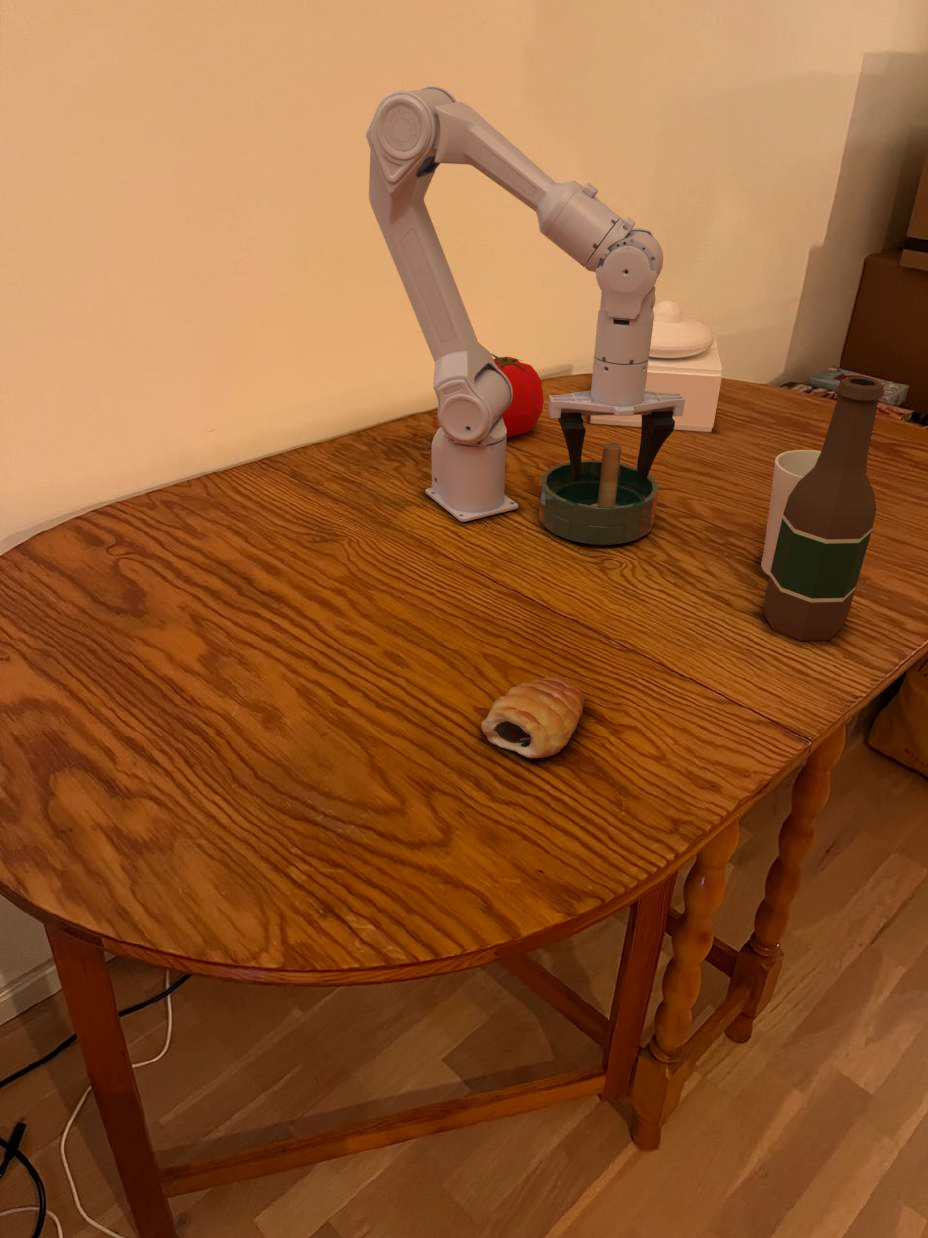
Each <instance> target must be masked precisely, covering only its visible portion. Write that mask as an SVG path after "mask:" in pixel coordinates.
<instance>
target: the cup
mask: <svg viewBox="0 0 928 1238" xmlns="http://www.w3.org/2000/svg"><path fill="white" fill-rule="evenodd" d="M821 451H822V450H813V449H794V450H787V451H784V452H781V453H780V454H778V455H777V456H775V459H774V465H773V466H774V467H773V476H772V484H771V493H770V500H769V508H768V513H767V514H768V515H767V522H766V523H767V524H766V530H765V531H766V532H765V538H764V546H763V553H762V558H761V563H760V567H761V569H762V571H763V572H764V573H765V574H766V575H767V576H769V575H770V571H771V566H772V562H773V557H774V553H775V548H776V544H777V539H778V535H779V530H780V526H781V521H782V517H783V513H784V510H785V507H786V503H787V500H788V497H789V495H790V494H791V492H792V491H793V489H794V488H795V486H796V485H797V483H798V482H799V481H800V480H801V479H802V478H803V477H804V476H805V475H806V474H807V473H808V472H810V471H811V470H812V469H813V468H814V467H815V464H816V462H817V460H818V458H819V455H820V453H821Z"/></svg>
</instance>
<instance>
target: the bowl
mask: <svg viewBox="0 0 928 1238" xmlns="http://www.w3.org/2000/svg"><path fill="white" fill-rule="evenodd" d="M601 466H602V460H597V459H596V460H593V459H590V460H589V459H588V460H581V477H580V480H576V481H574V480H573V478H572V476H571V469H570V461H568V462H564V463H560V464H557V465H555V466H553V467H551V468H549V469H547V470H546V471H545V472H544V473H543V474H542V475H541V478H540V479H541V480H540V493H539V508H538V509H539V510H538V519H539V521H540V522H541V524H542V526H543V527H544V528H545V529H546V530H548V531H550V532H551V533H552V534H554V535H556V536H557V537H560V538H563V539H565V540H568V541H571V542H574V543H578V544H584V545H588V546H589V545H590V546H614V545H616V546H617V545H621V544H626V543H629V542H634V541H637V540H639V539H641V538H643V537H644V536H646V535H647V534H649V533H650V531H651V530H652V528H653V527H654V525H655V517H656V510H657V504H658V503H657V502H658V495H659V487H658V482H657V481H656V480H655V479H654V478H653V477H652V476H651V475H650V474H648V477H647V479H641V478H640V476H639V475H638V473H637V467H634V466H631V465H628V464H624V463H620V466H619V475H618V484H617V493H616V502H615V505H617V506H613V507H604V506H590V505H593V504H597V503H598V495H599V485H600V475H601Z"/></svg>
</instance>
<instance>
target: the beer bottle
mask: <svg viewBox="0 0 928 1238" xmlns="http://www.w3.org/2000/svg"><path fill="white" fill-rule="evenodd" d="M884 389H885V387H884V384H882V383H881V382H880V381H878V380H877V379H874V378H871V377H866V376H863V375H862V376H861V375H859V376H852V375H851V376H847V377H845V378H843V379H841V380H840V381H839V383H838V386H837V387H836V389H835V392H836V393H837V394H838V397H837V399H836V402H835V406H834V409H833V412H832V415H831V419H830V422H829V425H828V428H827V432H826V435H825V437H824V438H825V439H824V442H823V445H822V448H821V450H820V451H821V453H820V455H819V458H818V460H817V462H816V464H815V467H814V468H813V469H812V470H811V471H810V472H808V473H807V474H806V475H805V476H804V477H803V478H802V479H801V480H800V481H799V482H798V483H797V485H796V486H795V488H794V489H793V491H792V492H791V494H790V495H789V497H788V500H787V503H786V507H785V510H784V513H783V517H782V521H781V526H780V530H779V535H778V539H777V544H776V548H775V553H774V557H773V562H772V566H771V571H770V575H768V580H767V585H766V589H765V590H766V591H765V594H764V600H763V607H762V613H763V616H764V618H765V619H766V621H767V623H768V624H769V626H770V627H771V629H772V631H774V632H777V633H778V634H782V635H784V636H787V637H789V638H792V639H794V640H797V641H800V642H818V641H820V642H823V641H825V642H826V641H830V640H831V639H832V638H833V637H834V636H835V635H836V634H837V633H839V631H840V630H841V629H842V628H844V626H845V623H846V621H847V618H848V615H849V613H850V609H851V606H852V602H853V599H854V596H855V592H856V588H857V585H858V582H859V579H860V578H859V577H860V574H861V572H862V571H861V570H862V567H863V564H864V560H865V556H866V553H867V551H868V550H867V549H868V546H869V542H870V539H871V534H872V532H873V528H874V524H875V518H876V513H877V503H876V495H875V491H874V489H873V486H872V484H871V481H870V480H869V477H868V475H867V467H868V455H869V452H870V451H869V450H870V446H871V440H872V435H873V430H874V425H875V420H876V416H877V415H876V414H877V411H878V410H877V409H878V404H879V400H880V399H882V398H884V397H885V391H884Z"/></svg>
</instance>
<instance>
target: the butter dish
mask: <svg viewBox="0 0 928 1238" xmlns="http://www.w3.org/2000/svg"><path fill="white" fill-rule="evenodd" d="M653 312H654V321H653V330H652V338H651V346H650V354H649V361H648V369H647V378H646V386H645V391H650V392H661V393H680V394H681V395H682V396H683V398H684V399H685V404H684V411H683V416H673V417H672V418H673V420H674V421H675V426H674V430H678V431H679V430H680V431H689V432H690V431H691V432H705V433H712V429H713V428H714V427H715V419H716V413H717V407H718V401H719V395H720V389H721V384H722V376H723V366H722V362H721V358H720V357H721V356H720V354H719V349H718V345H717V339H716V336H715V335H714V333H713V331H712V330H711V328H709V327H708V326H706V325H705V324H704V323H702V322H700V321H698V320H695V319H693V318H690V317H686V316H684V310H683V309H682V308H681V306H680V305H679V304H678V303H676V302H674V301H672V300H664V301H663V300H662V301H660V302H658V303H657V304H655V305H654V307H653ZM589 419H590V420H589V424H595V425H608V426H609V425H610V426H620V427H621V426H622V427H633V428H634V427H635V428H636V427H637V428H642V415H633V416H616V415H595V416H590V418H589Z"/></svg>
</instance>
